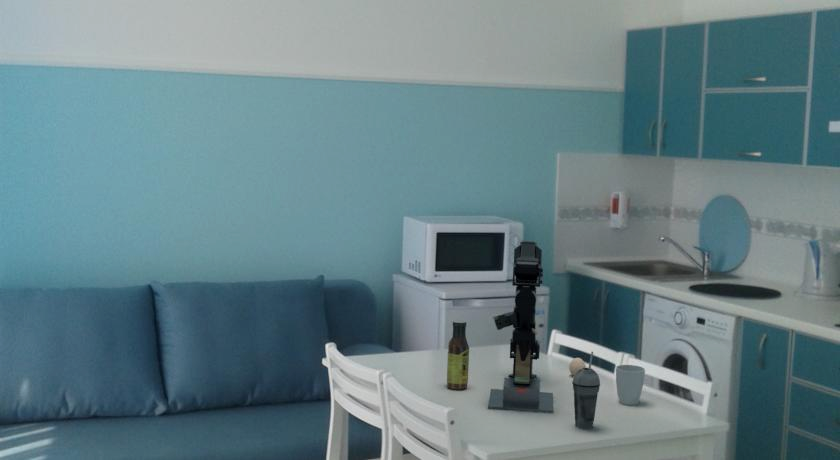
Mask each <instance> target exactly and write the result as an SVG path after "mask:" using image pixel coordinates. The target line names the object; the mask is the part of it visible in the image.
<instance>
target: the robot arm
mask: <svg viewBox="0 0 840 460" xmlns="http://www.w3.org/2000/svg"><path fill="white" fill-rule="evenodd" d="M542 253H543V250H542V249H541V248H540V247H539V246H538V243H537V242H536V241H525V240H522V241H520V242H519V245H518V246H517V247H515V248H514V252H513V268H512V285H511V286H513V287H515V296H514V306H513V311H509V312H506V313H502V314H499V315H496V316H494V318H493V320H494V324H495V326H496V330H497V331H501V330H502V329H504V328H509V327H511V326H512V328H513V330H512V337H511V338H510V343H509V346H510V347H509V359H513V364H512V373H511V374H509V375H508V378H515V366H516V346H517V345H518V346H519V352H520V358H521V361H525V360H526V357H527V355H528V353H529V351H530V349H531V353H530V379H534V378H537V375H536V374H533V361H534V360H536V361H537V360H539V359H540V350H541V349H540V347H541V345H540V344H539V342H538V341H539V340H538V339H537V337H536V335H537V334H536V331H535V330H536V325H537V323H536V308H537V307H536V305H537V288H540V287H541V284H543V280H544V279H543V276H544V274H543V273H544V269H543V267H542V260H543V259H542V258H543V256H542V255H543V254H542ZM536 339H537V340H536Z"/></svg>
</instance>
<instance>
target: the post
mask: <svg viewBox="0 0 840 460" xmlns="http://www.w3.org/2000/svg"><path fill="white" fill-rule="evenodd" d="M530 353H531V349H530V351H529V353H528V355H527V357H526V360H525V361H521V358H520V352H519V346H518V345H517V346H516V366H515V383H521V384H529V379H530Z"/></svg>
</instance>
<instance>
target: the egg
mask: <svg viewBox="0 0 840 460" xmlns="http://www.w3.org/2000/svg"><path fill="white" fill-rule="evenodd" d="M568 367H569V368H568V370H569V372H570V374H571V375H572V376H574V375H575V374H576V372H577V371H578V370H580V369H582V368H587V367H586V363H585V361H584V360H583V359H582V358H580V357H575V358H573V359H571V361H570V364H569V366H568Z"/></svg>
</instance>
